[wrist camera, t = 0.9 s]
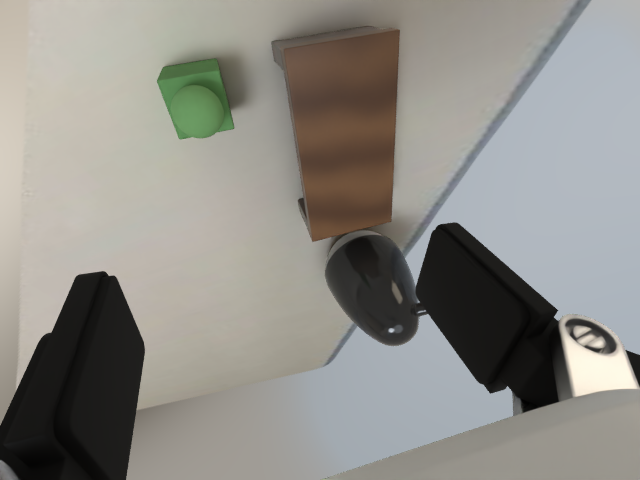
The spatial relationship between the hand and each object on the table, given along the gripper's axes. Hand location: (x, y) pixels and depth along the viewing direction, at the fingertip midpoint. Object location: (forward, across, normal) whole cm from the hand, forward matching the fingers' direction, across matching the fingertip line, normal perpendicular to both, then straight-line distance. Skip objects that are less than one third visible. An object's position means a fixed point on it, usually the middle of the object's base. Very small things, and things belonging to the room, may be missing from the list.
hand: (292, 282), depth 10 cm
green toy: (+26, +3, 0) cm, 26 cm away
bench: (+26, -10, +4) cm, 28 cm away
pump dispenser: (+26, -14, +20) cm, 36 cm away
